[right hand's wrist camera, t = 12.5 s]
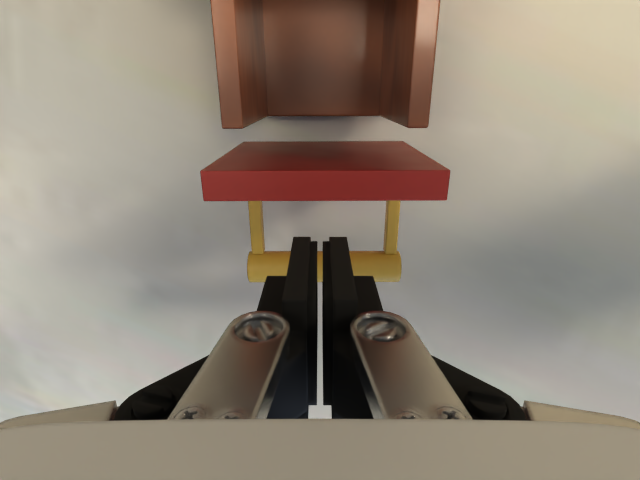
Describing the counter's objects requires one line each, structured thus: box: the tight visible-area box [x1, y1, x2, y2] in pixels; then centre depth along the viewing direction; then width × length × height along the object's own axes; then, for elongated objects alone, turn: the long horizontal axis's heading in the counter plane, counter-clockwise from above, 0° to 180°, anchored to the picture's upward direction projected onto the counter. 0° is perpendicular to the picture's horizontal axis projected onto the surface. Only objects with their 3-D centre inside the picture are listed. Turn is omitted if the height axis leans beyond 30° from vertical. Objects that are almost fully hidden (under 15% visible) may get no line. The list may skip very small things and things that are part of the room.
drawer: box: [200, 0, 450, 282], centre depth 17 cm, size 21×10×9 cm, turn 0°
